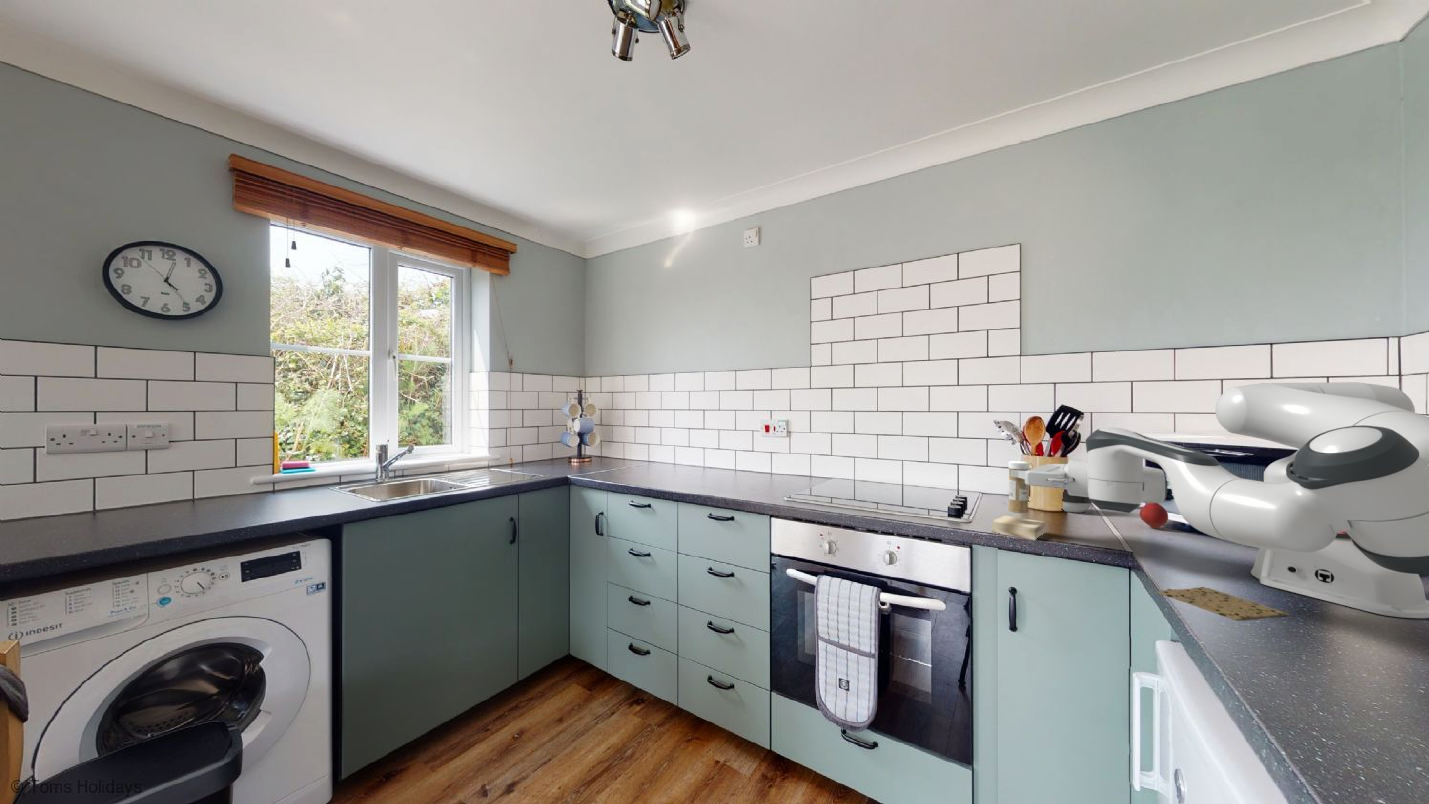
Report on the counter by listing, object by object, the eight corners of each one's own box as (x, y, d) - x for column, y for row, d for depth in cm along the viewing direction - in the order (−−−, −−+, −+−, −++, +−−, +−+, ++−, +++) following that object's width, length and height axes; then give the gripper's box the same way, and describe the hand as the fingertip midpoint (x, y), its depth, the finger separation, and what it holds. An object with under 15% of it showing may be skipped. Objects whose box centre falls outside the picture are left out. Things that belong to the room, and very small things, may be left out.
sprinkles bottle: (1029, 514, 127) (1029, 463, 127) (1009, 512, 129) (1009, 462, 129) (1027, 511, 131) (1027, 461, 131) (1007, 509, 133) (1007, 460, 133)
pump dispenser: (1099, 513, 155) (1100, 465, 155) (1080, 516, 150) (1081, 466, 150) (1064, 506, 164) (1065, 461, 164) (1046, 509, 159) (1046, 463, 159)
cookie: (1294, 617, 80) (1294, 611, 80) (1236, 623, 78) (1236, 617, 78) (1207, 590, 92) (1207, 585, 92) (1155, 594, 89) (1155, 589, 89)
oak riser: (1045, 533, 130) (1045, 522, 130) (1035, 540, 123) (1035, 528, 123) (1003, 526, 137) (1003, 515, 137) (991, 532, 130) (991, 521, 130)
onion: (1156, 526, 138) (1157, 498, 138) (1173, 531, 133) (1174, 502, 133) (1134, 525, 139) (1134, 497, 139) (1150, 530, 133) (1150, 501, 133)
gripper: (1068, 496, 113) (1002, 488, 123) (1086, 486, 127) (1025, 479, 137) (1068, 469, 113) (1002, 463, 123) (1086, 462, 127) (1025, 457, 137)
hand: (1014, 472), depth 130 cm, fingers closed on sprinkles bottle, 4 cm apart
